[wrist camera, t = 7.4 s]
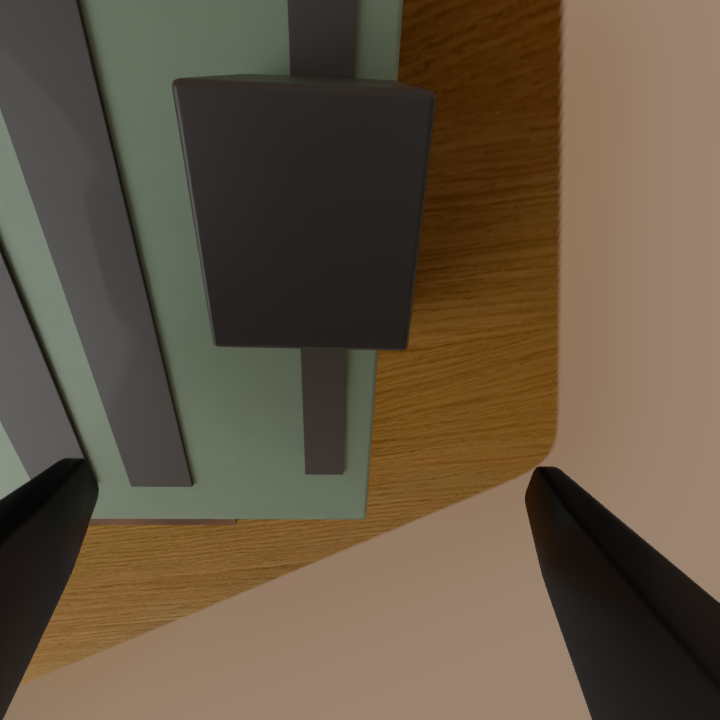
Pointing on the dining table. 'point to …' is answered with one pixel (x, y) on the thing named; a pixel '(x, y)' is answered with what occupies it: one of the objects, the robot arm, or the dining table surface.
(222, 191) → the slider
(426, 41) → the dining table surface
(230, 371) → the toaster
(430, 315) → the dining table surface
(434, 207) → the dining table surface
